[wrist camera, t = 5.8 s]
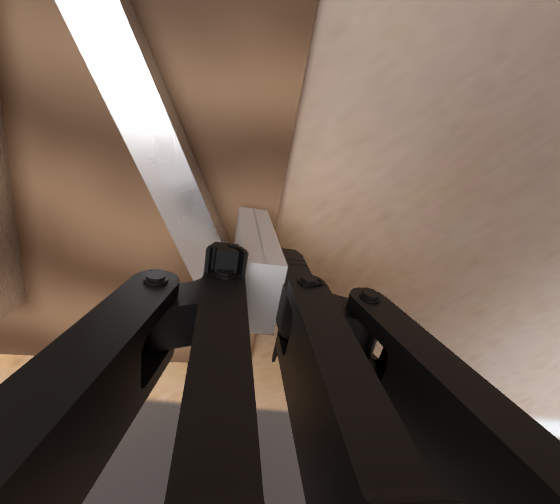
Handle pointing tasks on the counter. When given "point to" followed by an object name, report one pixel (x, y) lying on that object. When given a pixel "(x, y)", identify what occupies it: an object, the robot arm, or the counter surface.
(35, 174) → the board
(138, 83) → the tong arm
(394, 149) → the counter surface
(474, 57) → the counter surface
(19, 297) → the bar
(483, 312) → the counter surface
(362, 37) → the counter surface
